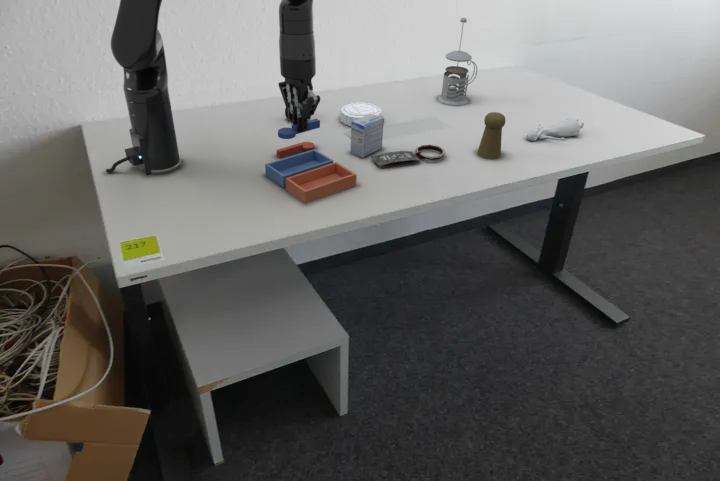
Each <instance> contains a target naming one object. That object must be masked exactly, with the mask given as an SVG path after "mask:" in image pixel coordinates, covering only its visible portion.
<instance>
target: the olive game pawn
mask: <svg viewBox="0 0 720 481" xmlns="http://www.w3.org/2000/svg"><path fill="white" fill-rule="evenodd" d="M483 122H484V130H483V133H482V137H481V139H480V142H479V146H478V149H477V151H476V152H477V156H478V157H480V158H482V159H486V160H497V159H499V158H501V154H502V153H501V152H502V136H503V128H504V127H505V126H506V116H505V115H504V114H503V113H501V112H497V111H494V112H493V111H491V112H488V113H487V114H486V115H485V116H484V119H483Z"/></svg>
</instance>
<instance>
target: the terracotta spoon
mask: <svg viewBox="0 0 720 481" xmlns="http://www.w3.org/2000/svg"><path fill="white" fill-rule="evenodd" d="M315 146H316V144H315V143H314V142H311V141H303V142H300V143H295V144H292V145H288V146H284V147H281V148H278V149H276V157H277V158H279V159H283V158H286V157H290V156H293V155H296V154H300V153H304V152H307V151H310V150H314V149H315V150H316V148H315Z"/></svg>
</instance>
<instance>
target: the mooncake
mask: <svg viewBox="0 0 720 481" xmlns="http://www.w3.org/2000/svg"><path fill="white" fill-rule="evenodd" d="M369 114H374V115H377V116H380V117H382V115H383V111H382V109H381V107H380V106H378V105H375V104H373V103H369V102H351V103H347V104H345V105H343V106H342V107H341V108H340V110H339V119H340V121H341V123H343V124H344V125H346V126H348V127H351V124H352V122H353V121H355V120H357V119H359V118H362V117H364V116H366V115H369ZM382 118H383V117H382Z"/></svg>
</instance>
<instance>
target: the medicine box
mask: <svg viewBox="0 0 720 481" xmlns="http://www.w3.org/2000/svg"><path fill="white" fill-rule="evenodd" d="M384 123H385V118H384V117H380V116H377V115H374V114H369V115H366V116H364V117H362V118H359V119H357V120H355V121H353V122H352V124H351V126H350V127H351V129H350V153H351V154H353V155H355V156H357V157H360V158H363V159H364V158H366V157H367V156H369V155H371V154H373V153H375V152H377V151H379V150H381V149H382V148H383V138H384V137H383V136H384Z"/></svg>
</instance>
